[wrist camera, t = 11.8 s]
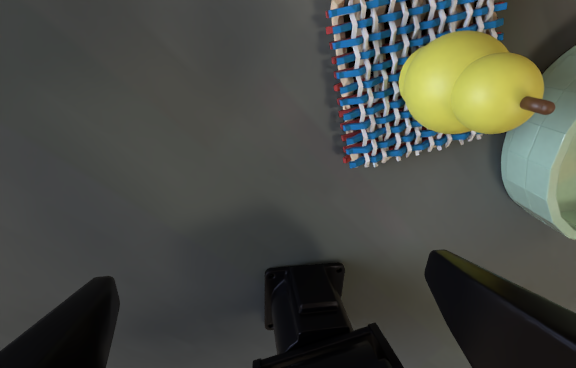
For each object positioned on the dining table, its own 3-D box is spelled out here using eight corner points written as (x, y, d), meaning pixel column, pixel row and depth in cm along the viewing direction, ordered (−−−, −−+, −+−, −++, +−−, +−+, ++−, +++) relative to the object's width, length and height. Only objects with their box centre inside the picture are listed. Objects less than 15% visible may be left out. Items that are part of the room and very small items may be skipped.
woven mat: (481, 129, 23) (502, 138, 21) (340, 166, 23) (350, 178, 21) (496, -43, 18) (524, -50, 17) (317, -2, 18) (327, -5, 16)
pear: (455, 119, 20) (581, 171, 13) (380, 120, 19) (470, 175, 12) (478, 31, 18) (645, 34, 11) (395, 28, 17) (515, 29, 10)
